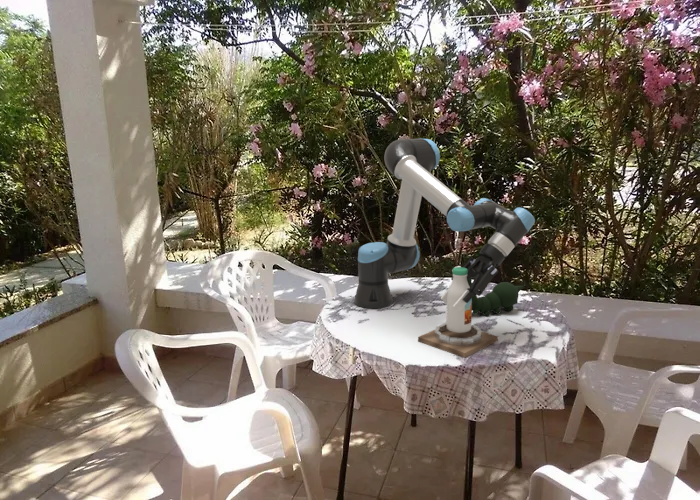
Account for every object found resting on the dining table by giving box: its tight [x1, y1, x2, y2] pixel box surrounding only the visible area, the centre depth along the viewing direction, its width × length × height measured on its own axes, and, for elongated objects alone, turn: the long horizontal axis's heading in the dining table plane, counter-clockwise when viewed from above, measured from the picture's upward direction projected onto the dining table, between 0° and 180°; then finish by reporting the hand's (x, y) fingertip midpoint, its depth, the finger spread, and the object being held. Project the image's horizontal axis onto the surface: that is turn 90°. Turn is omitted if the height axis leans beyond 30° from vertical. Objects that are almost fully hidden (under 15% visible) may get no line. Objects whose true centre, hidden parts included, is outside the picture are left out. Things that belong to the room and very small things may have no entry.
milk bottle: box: [446, 266, 473, 333], centre depth 165 cm, size 8×8×20 cm
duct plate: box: [417, 329, 499, 358], centre depth 168 cm, size 18×18×2 cm
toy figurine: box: [467, 275, 524, 317], centre depth 192 cm, size 9×19×25 cm
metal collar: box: [434, 322, 483, 346], centre depth 168 cm, size 14×14×2 cm
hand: (449, 304), depth 164 cm, fingers closed on milk bottle, 8 cm apart
